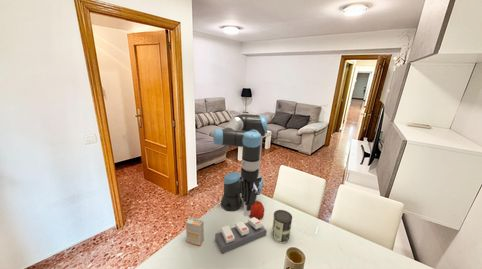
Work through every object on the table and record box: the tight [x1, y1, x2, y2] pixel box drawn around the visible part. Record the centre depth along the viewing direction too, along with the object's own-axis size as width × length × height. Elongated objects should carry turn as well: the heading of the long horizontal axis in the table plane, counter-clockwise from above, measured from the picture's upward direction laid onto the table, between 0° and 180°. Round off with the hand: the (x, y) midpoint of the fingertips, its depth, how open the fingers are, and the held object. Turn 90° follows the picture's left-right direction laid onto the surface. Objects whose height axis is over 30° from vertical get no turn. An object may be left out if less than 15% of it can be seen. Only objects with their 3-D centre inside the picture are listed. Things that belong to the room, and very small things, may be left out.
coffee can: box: [271, 209, 293, 244], centre depth 109 cm, size 10×10×14 cm
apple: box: [249, 200, 265, 220], centre depth 126 cm, size 10×10×10 cm
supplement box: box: [185, 216, 205, 247], centre depth 103 cm, size 8×5×13 cm, turn 74°
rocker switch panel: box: [214, 221, 268, 255], centre depth 108 cm, size 10×28×5 cm, turn 119°
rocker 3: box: [247, 217, 263, 229], centre depth 112 cm, size 8×4×3 cm, turn 29°
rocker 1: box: [220, 224, 235, 243], centre depth 102 cm, size 8×4×2 cm, turn 29°
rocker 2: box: [234, 220, 249, 236], centre depth 107 cm, size 8×4×2 cm, turn 29°
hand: (246, 214), depth 88 cm, fingers closed
